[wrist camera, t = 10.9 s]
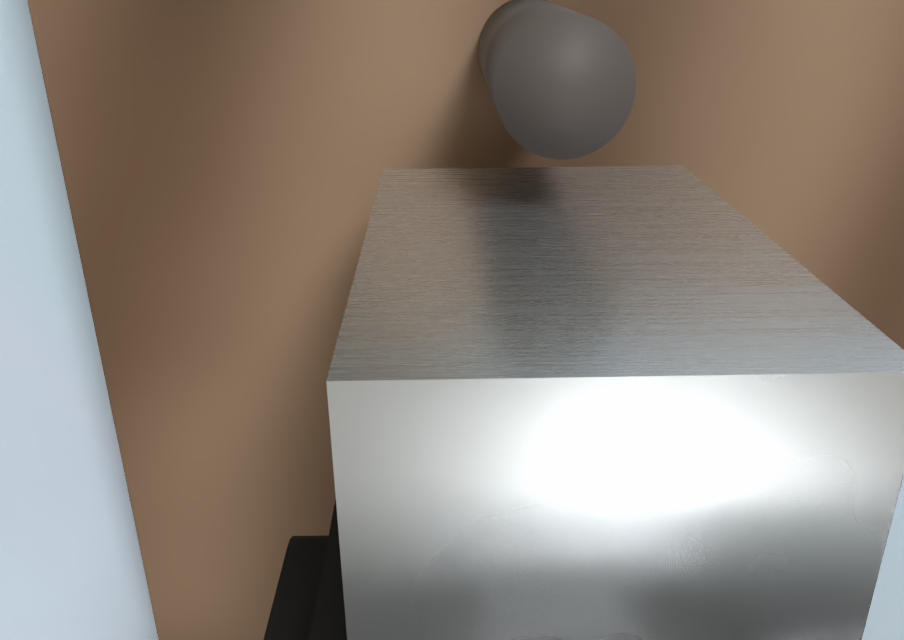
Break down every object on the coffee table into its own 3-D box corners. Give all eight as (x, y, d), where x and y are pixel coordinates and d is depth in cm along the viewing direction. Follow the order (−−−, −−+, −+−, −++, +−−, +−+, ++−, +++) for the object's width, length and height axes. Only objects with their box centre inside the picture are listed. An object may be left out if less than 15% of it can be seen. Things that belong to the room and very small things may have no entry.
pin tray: (999, -130, 12) (1370, -188, 7) (799, 737, 19) (917, 993, 14) (42, -120, 12) (-227, -174, 7) (205, 748, 19) (127, 1009, 14)
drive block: (682, 165, 11) (930, 372, 5) (624, 705, 15) (733, 1138, 9) (383, 168, 11) (326, 380, 5) (407, 710, 15) (388, 1147, 9)
